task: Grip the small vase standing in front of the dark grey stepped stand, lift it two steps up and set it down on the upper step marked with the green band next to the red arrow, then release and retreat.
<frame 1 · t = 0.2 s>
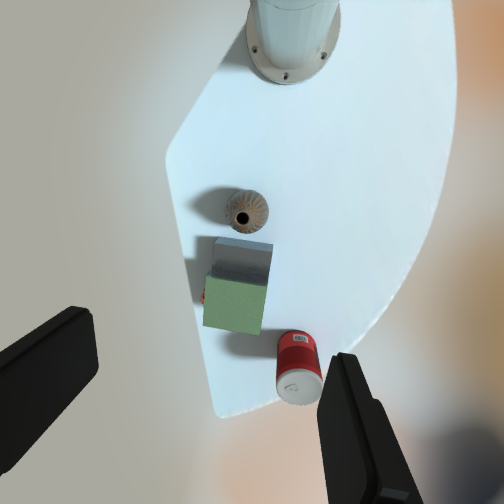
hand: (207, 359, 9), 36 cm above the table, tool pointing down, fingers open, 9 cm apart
canned food: (296, 343, 52), on the table
stand: (241, 283, 48), on the table
vase: (250, 207, 43), on the table
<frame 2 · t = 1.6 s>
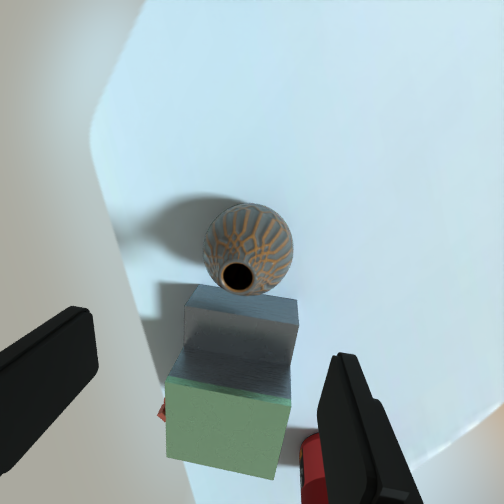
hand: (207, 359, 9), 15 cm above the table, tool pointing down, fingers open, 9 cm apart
canned food: (330, 448, 32), on the table
stand: (239, 360, 28), on the table
vase: (254, 234, 23), on the table
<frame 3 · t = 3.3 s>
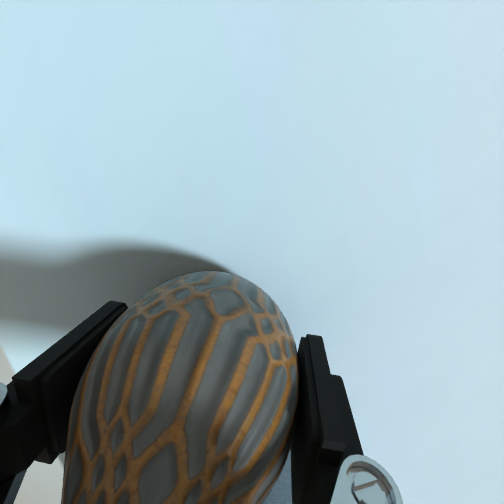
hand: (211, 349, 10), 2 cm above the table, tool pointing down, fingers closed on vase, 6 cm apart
stand: (207, 497, 17), on the table
vase: (225, 314, 12), on the table, touching gripper
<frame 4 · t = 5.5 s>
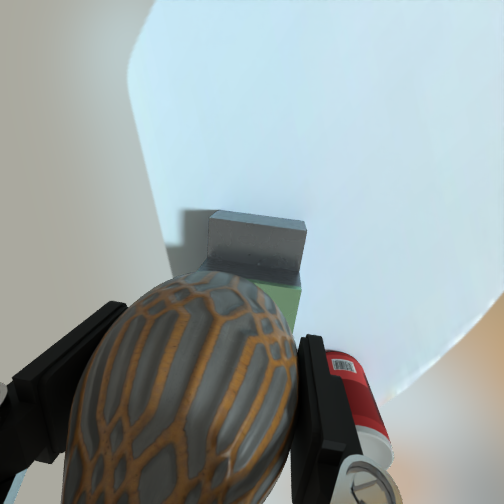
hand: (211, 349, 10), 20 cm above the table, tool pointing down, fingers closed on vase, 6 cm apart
canned food: (332, 369, 36), on the table
stand: (252, 283, 32), on the table
vase: (225, 314, 12), point 18 cm above the table, touching gripper
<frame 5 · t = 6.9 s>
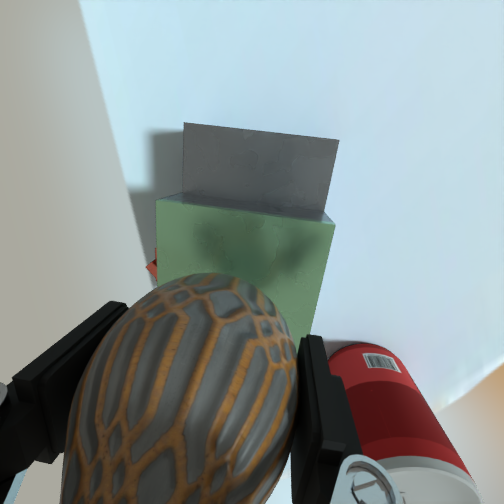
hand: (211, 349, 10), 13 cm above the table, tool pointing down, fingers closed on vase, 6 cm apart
canned food: (360, 369, 26), on the table
stand: (251, 244, 23), on the table
vase: (224, 315, 12), point 11 cm above the table, touching gripper
when the fingers open (11 cm above the table, at t = 7.8 s): vase stays where it is, resting on stand.
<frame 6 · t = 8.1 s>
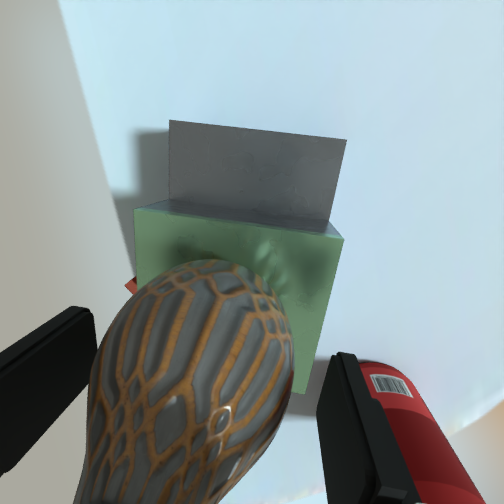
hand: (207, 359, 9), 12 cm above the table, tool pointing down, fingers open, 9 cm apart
canned food: (367, 389, 24), on the table
stand: (247, 255, 21), on the table
vase: (225, 301, 13), point 8 cm above the table, touching stand
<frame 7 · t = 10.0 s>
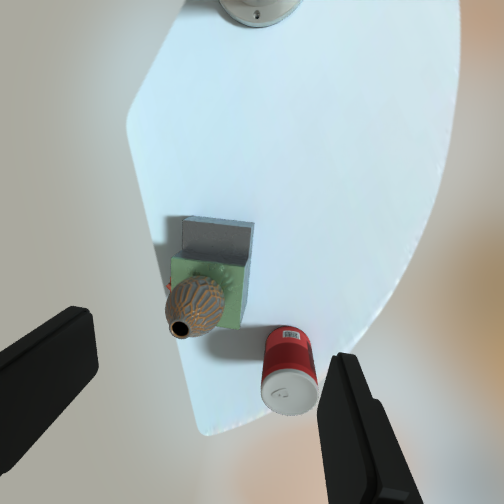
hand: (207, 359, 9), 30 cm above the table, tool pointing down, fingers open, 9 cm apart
canned food: (287, 342, 44), on the table
stand: (220, 272, 42), on the table
vase: (205, 291, 34), point 8 cm above the table, touching stand
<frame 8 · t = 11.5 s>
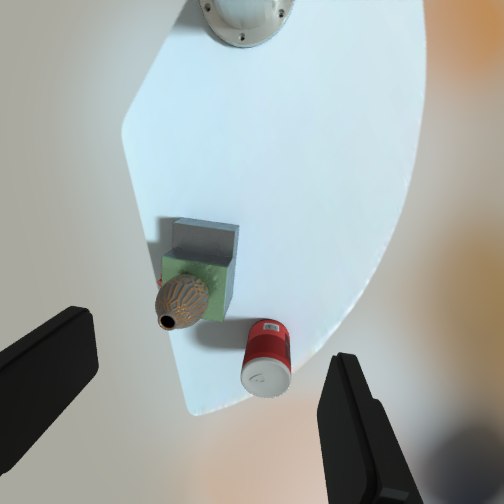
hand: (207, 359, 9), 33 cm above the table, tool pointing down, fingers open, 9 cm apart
canned food: (269, 334, 49), on the table
stand: (207, 269, 45), on the table
vase: (192, 287, 38), point 8 cm above the table, touching stand
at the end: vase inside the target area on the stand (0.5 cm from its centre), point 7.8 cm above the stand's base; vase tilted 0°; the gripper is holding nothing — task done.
